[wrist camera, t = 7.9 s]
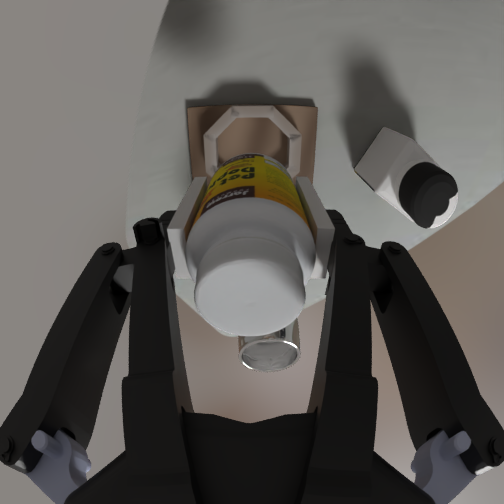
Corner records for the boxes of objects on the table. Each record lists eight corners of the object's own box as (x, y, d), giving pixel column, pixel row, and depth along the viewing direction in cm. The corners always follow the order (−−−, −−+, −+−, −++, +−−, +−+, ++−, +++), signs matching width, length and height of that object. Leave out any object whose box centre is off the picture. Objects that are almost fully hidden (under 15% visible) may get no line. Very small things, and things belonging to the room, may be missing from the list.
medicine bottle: (352, 169, 31) (394, 215, 21) (382, 125, 27) (440, 151, 17) (390, 198, 33) (435, 248, 23) (419, 157, 29) (475, 195, 19)
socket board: (315, 106, 26) (322, 109, 24) (305, 236, 36) (309, 248, 34) (189, 107, 26) (182, 109, 24) (200, 236, 36) (197, 249, 34)
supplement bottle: (256, 132, 16) (261, 197, 7) (309, 195, 18) (355, 306, 10) (192, 187, 18) (141, 295, 9) (247, 240, 20) (243, 363, 12)
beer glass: (275, 241, 37) (285, 329, 24) (296, 275, 40) (312, 361, 28) (231, 262, 39) (223, 350, 26) (255, 293, 42) (256, 378, 30)
